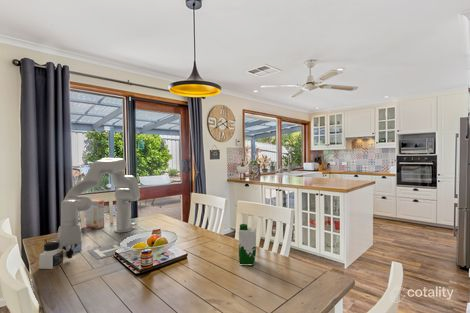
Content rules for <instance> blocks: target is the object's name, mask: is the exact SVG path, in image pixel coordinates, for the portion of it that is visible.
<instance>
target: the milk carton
mask: <svg viewBox="0 0 470 313" xmlns="http://www.w3.org/2000/svg"><path fill="white" fill-rule="evenodd" d="M238 229H239V230H238V261H239V263H240V264H254V265H255V260H256V256H257V231H256V230H257V229H256V227H252V226H248V224H246V223H240V224H239V228H238ZM239 263H238V264H239Z"/></svg>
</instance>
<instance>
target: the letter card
mask: <svg viewBox="0 0 470 313" xmlns="http://www.w3.org/2000/svg"><path fill="white" fill-rule="evenodd" d="M120 244H121V243H120V242H117V243H114V244H113V243H112V244H109V245H105V246H100V247H97V248H94V249H89V250H87V252H88V253H90V255H91V256H93V258H95V259H96V260H101V259H105V258H109V257H112V256H115V255H114V254H115V251H116V250H118V249H120V248H121V247H120Z"/></svg>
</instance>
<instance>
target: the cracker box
mask: <svg viewBox="0 0 470 313" xmlns="http://www.w3.org/2000/svg"><path fill="white" fill-rule="evenodd" d="M90 199H91V201H92V206H91V207H90V208H89V209H88V210H85V227H87V228H93V229H97V230H98V229H102V228H104V227H105V200H104V199H95V198H90Z"/></svg>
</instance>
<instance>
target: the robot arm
mask: <svg viewBox="0 0 470 313" xmlns="http://www.w3.org/2000/svg"><path fill="white" fill-rule="evenodd" d="M126 167H127V161H126V160H125V158H121V157H115V158H114V157H103V158H100V159H99V160H95V161H93V162H92V163H91V166H90V167H89V169H88V170H87V173H86V174H85V176H84V178H83V179H82V180H81V181H79V182H77V184H75V185H74V186H72V187H71V188H70V189H69V190H68V192H67V193H66V195H65V197H64V198H63V200H62V201H61V203H60V225H59V227H58V230H57V239H56V240H57V242H59V250H63V251H65V257H66V258H67V259H73V256H74V252H73V250H74V248H75V247H76V246H77V245H80V244H81V240H82V231H81V226H80V222H82V219H79V212H84V211H85V212H86V210H88V209H89V208H90V207H91V206H92V201H91V199H92V198H89V197H87V196H80V195H81V194H82V193H84V192H87V191H90V190H92V189H94V188H96V187H98V186H99V185H100V182H101V180H102V178H103V176H104V175H110V176H111V179H112V183H113V185H114V187H115V189H116V190H115V192H114V197H115V204H116V206H115V207H116V213H115V214H116V223H115V224H116V227H115V228H114V229H113V231H114V232H115V233H117V234H119V233H127V232H131V231H132V230H133V227H136V226H138V223H137V222H131V204H130V202H136V201H139V199H140V198H141V190H140V186H139V181H138V178H136V177H135V176H134V175H126V174H125V172H124V170H125V169H126ZM68 245H71V247H70V249H69V247H68Z"/></svg>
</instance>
